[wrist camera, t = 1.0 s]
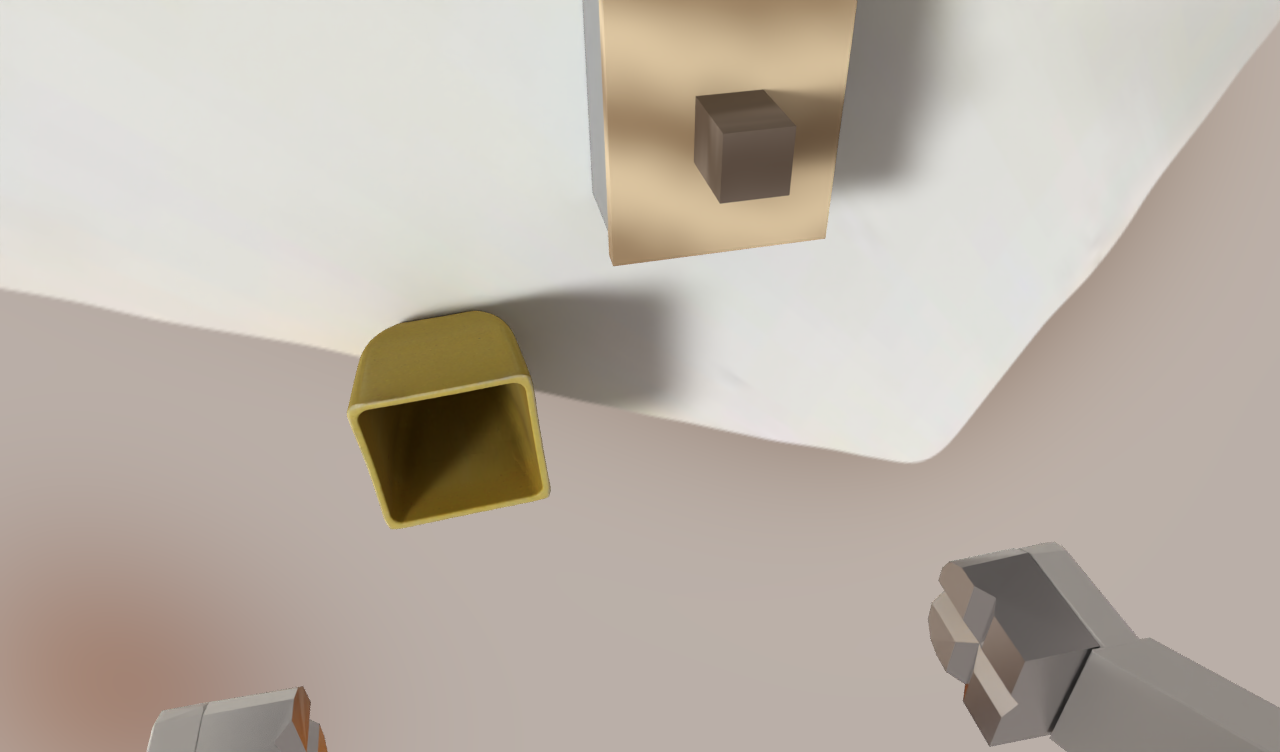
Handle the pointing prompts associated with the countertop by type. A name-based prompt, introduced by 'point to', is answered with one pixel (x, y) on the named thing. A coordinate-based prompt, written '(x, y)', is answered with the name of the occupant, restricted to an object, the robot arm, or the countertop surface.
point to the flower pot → (447, 419)
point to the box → (595, 103)
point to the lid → (720, 122)
